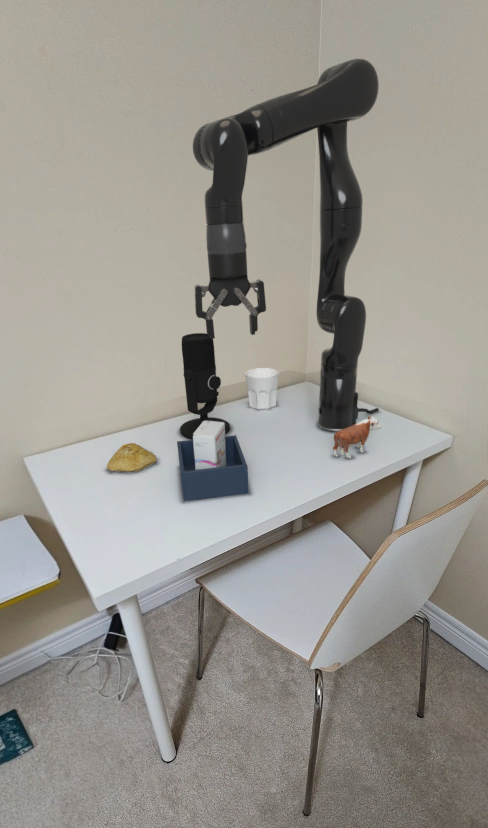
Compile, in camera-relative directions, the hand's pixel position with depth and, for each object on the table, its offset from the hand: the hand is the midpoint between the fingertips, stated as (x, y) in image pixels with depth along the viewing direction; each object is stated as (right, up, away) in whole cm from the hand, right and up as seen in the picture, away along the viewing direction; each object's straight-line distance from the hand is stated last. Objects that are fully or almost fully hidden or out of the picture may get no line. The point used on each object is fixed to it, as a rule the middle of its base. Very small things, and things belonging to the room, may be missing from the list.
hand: (232, 335), depth 100 cm
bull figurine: (+29, -24, +15) cm, 40 cm away
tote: (-5, -30, +6) cm, 31 cm away
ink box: (-5, -30, +6) cm, 31 cm away
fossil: (-24, -26, +14) cm, 39 cm away
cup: (+8, -7, +45) cm, 46 cm away
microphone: (-8, -16, +30) cm, 35 cm away
